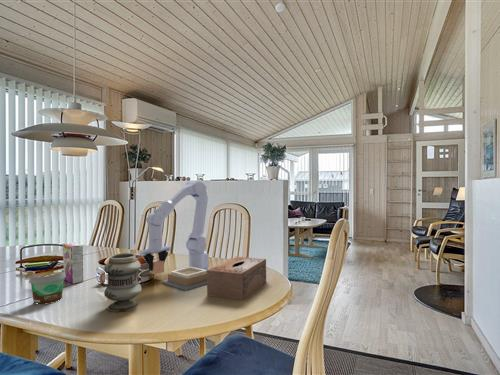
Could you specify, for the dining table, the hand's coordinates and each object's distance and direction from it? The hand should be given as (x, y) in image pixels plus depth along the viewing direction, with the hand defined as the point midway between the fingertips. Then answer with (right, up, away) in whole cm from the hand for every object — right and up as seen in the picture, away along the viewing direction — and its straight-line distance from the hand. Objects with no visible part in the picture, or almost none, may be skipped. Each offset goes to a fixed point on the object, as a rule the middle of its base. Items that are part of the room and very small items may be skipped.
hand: (156, 269), depth 150 cm
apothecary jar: (-2, -5, -34) cm, 35 cm away
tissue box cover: (+38, -5, -14) cm, 41 cm away
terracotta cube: (0, -2, 0) cm, 2 cm away
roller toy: (-19, -5, -6) cm, 21 cm away
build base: (+16, -4, -6) cm, 18 cm away
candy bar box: (-37, -5, -1) cm, 37 cm away
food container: (-31, -5, -28) cm, 42 cm away
